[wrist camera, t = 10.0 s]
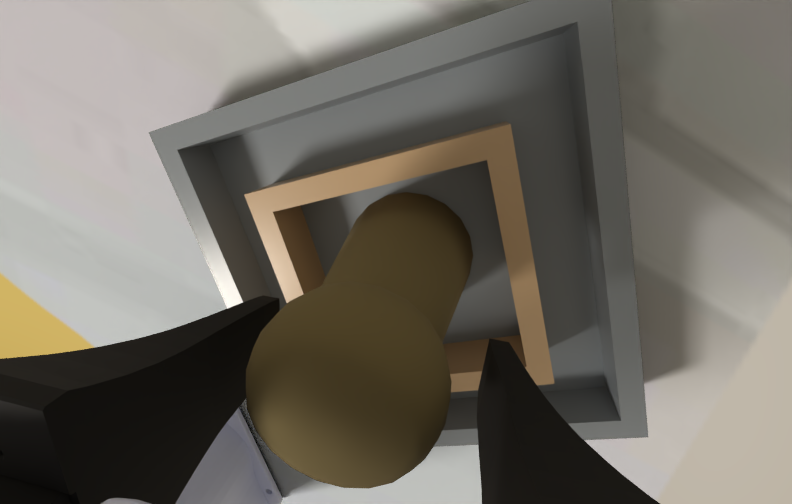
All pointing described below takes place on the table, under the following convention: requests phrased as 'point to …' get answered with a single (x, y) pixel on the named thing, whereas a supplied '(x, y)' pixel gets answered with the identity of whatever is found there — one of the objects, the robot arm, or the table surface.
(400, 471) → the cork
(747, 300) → the table surface
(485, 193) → the tray
